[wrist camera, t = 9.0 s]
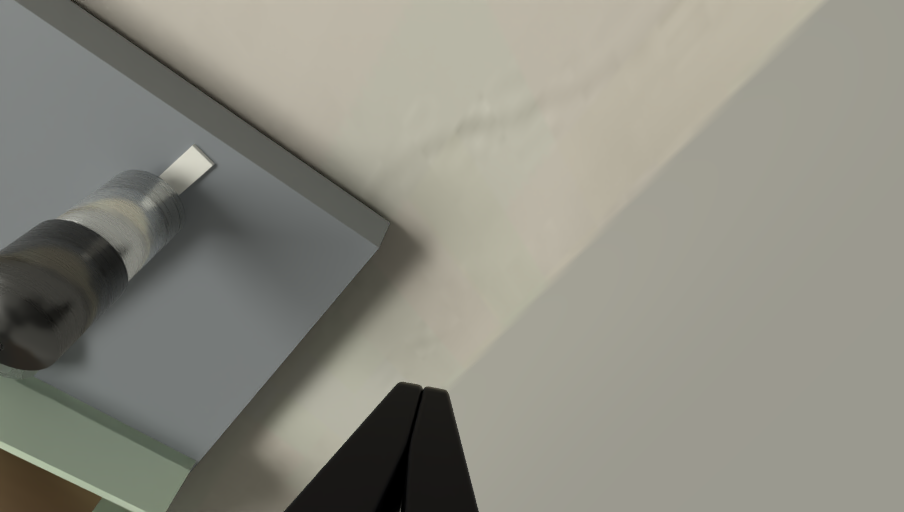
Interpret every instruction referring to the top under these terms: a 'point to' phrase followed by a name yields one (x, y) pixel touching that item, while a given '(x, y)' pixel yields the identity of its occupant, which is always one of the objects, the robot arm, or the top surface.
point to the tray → (89, 448)
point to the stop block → (39, 489)
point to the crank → (79, 267)
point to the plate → (194, 247)
